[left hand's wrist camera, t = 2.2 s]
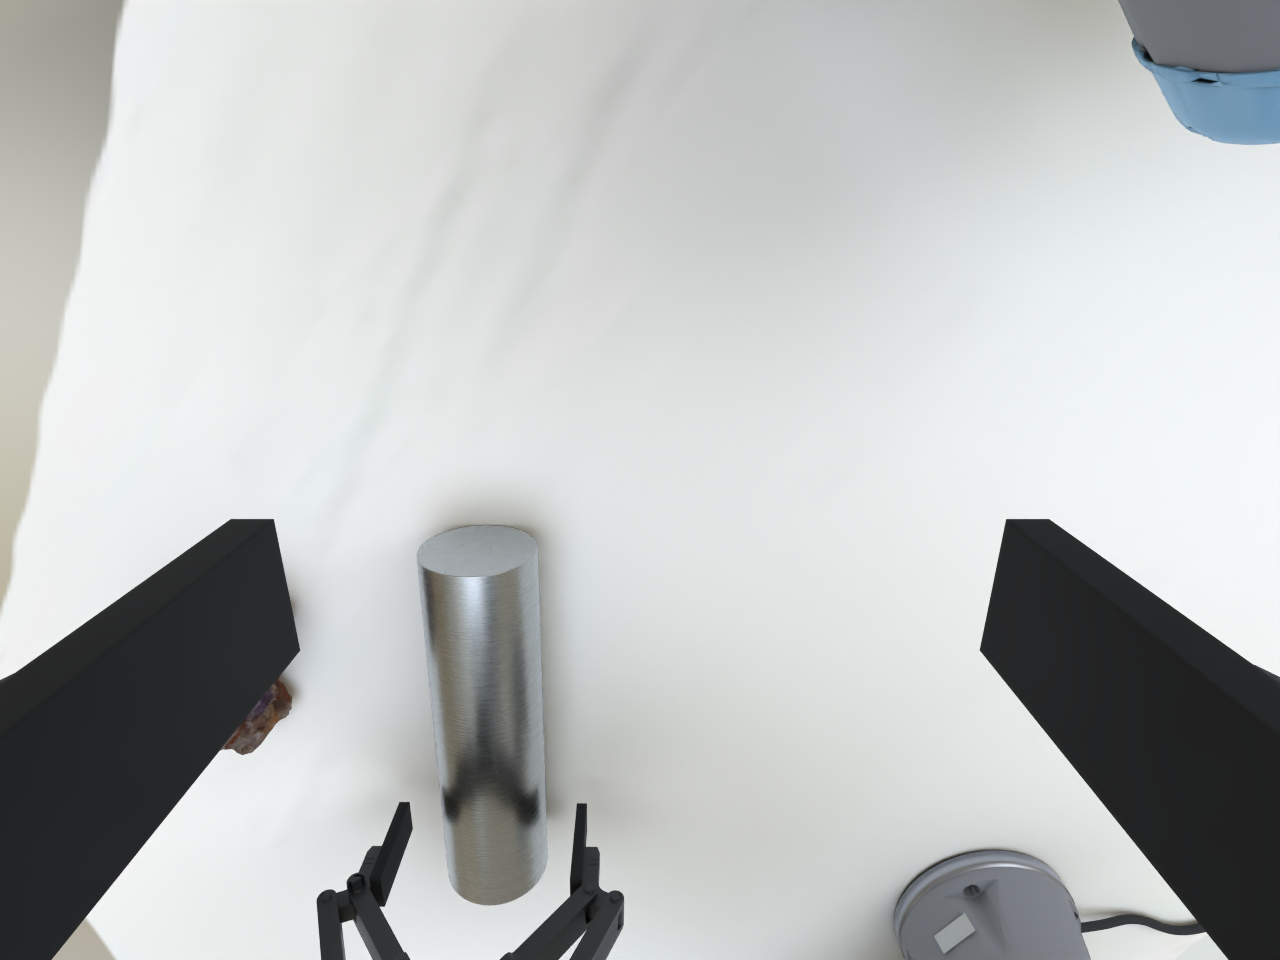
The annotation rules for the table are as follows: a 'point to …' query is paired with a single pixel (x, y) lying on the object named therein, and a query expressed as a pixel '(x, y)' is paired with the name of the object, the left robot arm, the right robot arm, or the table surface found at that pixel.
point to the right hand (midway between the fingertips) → (494, 815)
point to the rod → (487, 706)
